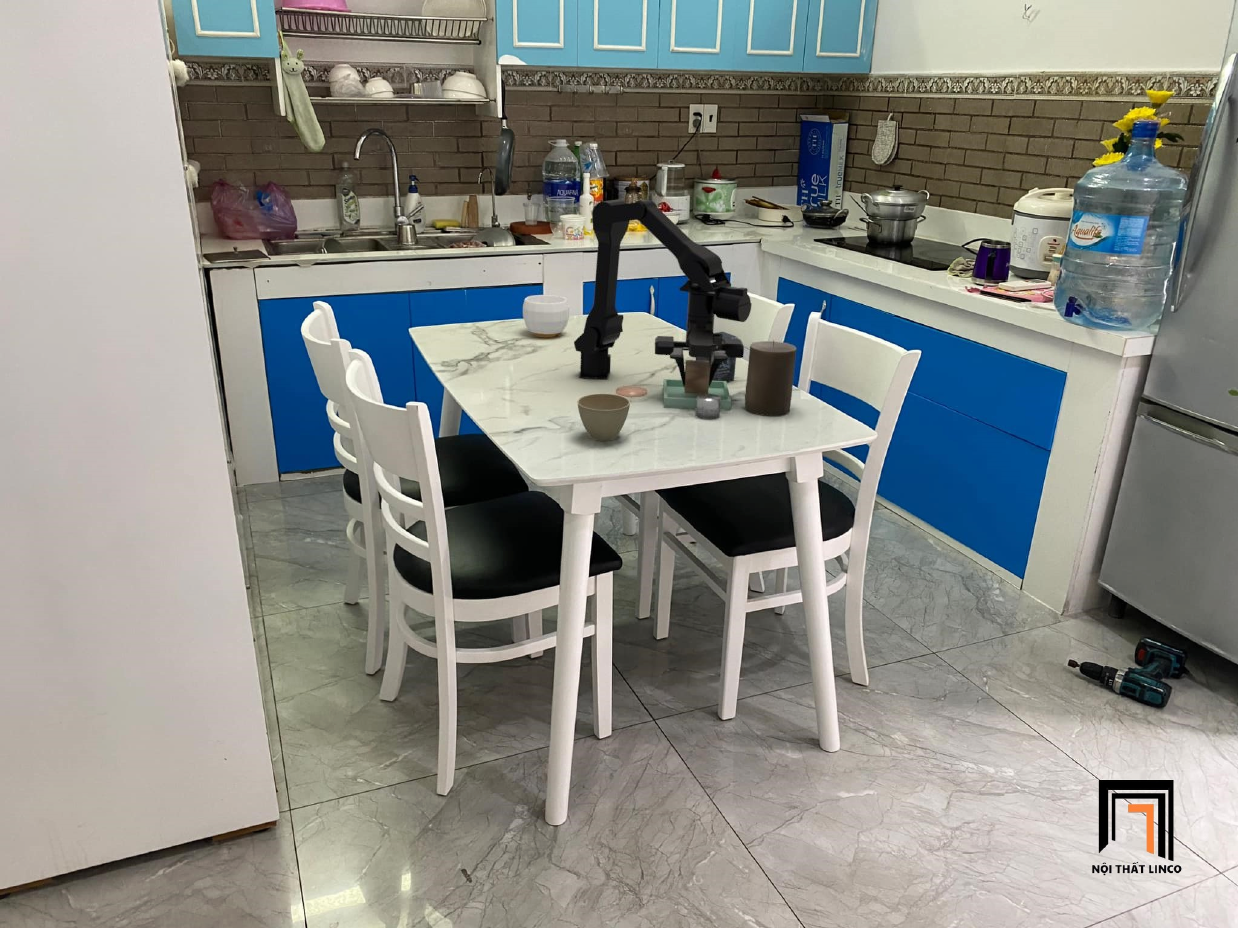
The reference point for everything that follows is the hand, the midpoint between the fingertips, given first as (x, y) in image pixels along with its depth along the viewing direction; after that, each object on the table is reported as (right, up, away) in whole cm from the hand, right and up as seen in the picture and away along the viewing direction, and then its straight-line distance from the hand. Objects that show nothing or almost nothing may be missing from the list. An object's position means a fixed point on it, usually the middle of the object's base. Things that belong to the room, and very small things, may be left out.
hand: (696, 385), depth 203 cm
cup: (-36, +18, +49) cm, 64 cm away
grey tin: (+2, -7, -9) cm, 12 cm away
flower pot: (-20, -12, -23) cm, 32 cm away
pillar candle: (+15, -5, -4) cm, 16 cm away
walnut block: (0, -1, 0) cm, 1 cm away
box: (+5, +2, +15) cm, 16 cm away
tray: (0, -3, +1) cm, 3 cm away
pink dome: (-14, -1, +4) cm, 15 cm away
